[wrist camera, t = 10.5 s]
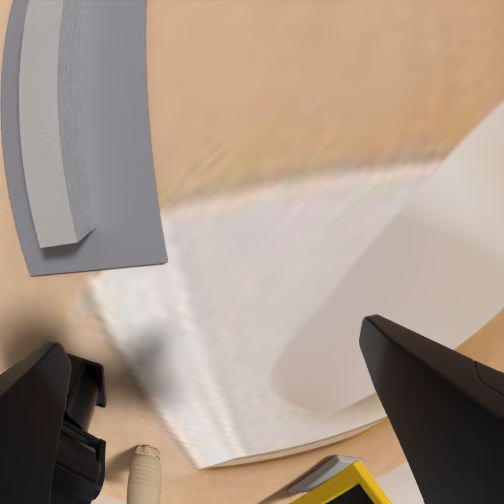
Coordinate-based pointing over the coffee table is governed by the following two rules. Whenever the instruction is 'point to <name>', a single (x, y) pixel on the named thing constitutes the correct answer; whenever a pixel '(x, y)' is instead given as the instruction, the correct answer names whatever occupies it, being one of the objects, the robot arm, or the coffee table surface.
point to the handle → (144, 477)
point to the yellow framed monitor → (340, 484)
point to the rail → (54, 122)
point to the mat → (95, 143)
